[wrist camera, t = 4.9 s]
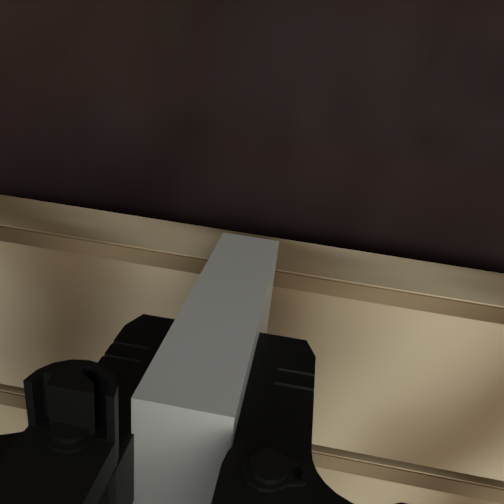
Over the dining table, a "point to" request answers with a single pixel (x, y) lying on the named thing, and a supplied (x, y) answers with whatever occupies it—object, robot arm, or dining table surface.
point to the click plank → (276, 324)
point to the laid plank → (343, 470)
